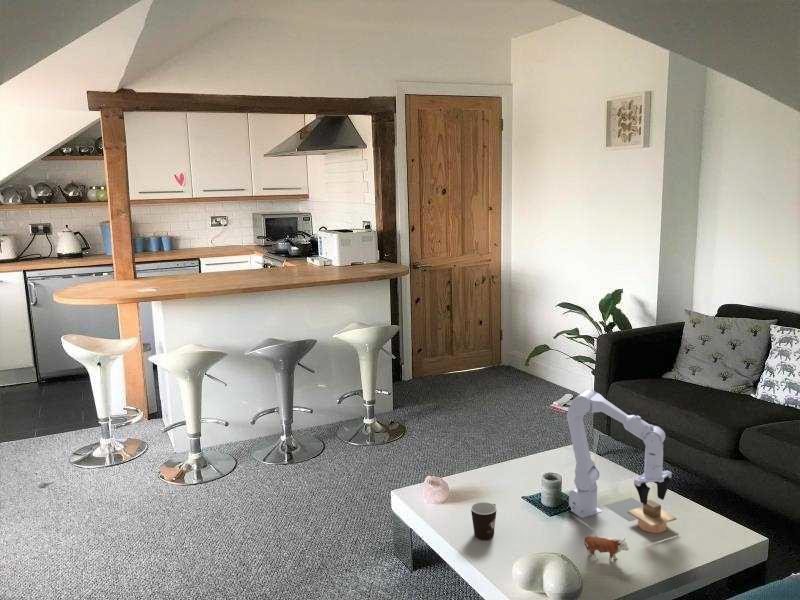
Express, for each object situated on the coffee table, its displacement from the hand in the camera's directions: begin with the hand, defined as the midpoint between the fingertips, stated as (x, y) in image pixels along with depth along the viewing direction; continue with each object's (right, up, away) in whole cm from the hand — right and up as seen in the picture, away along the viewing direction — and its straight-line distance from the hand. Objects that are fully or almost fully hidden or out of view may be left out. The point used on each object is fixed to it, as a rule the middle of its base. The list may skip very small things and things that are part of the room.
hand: (652, 500), depth 228 cm
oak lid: (0, -5, +1) cm, 6 cm away
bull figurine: (-21, -14, -17) cm, 30 cm away
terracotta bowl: (0, -9, +1) cm, 10 cm away
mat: (-3, -7, +13) cm, 15 cm away
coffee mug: (-56, -12, 0) cm, 57 cm away
